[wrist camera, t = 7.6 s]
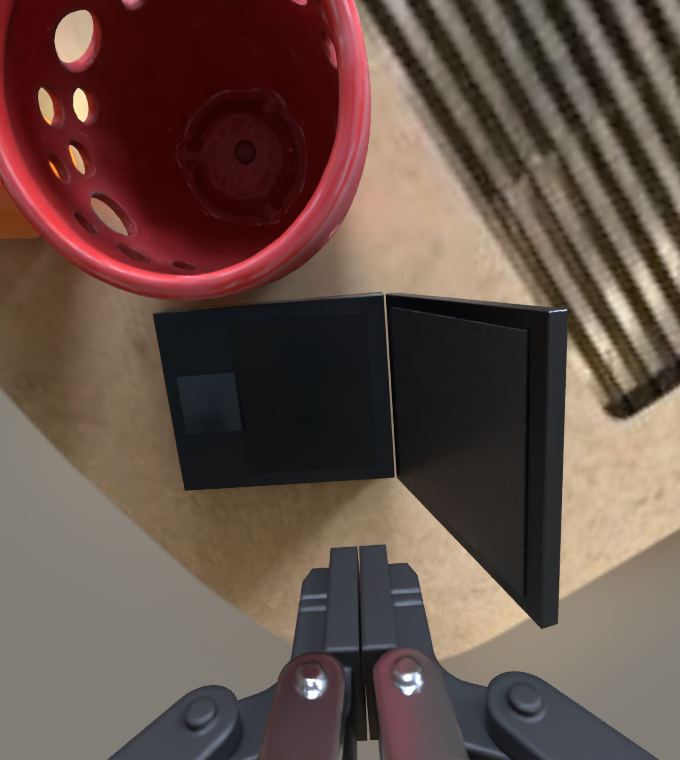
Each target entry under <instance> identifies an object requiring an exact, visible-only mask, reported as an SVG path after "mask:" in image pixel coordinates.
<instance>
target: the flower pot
mask: <svg viewBox="0 0 680 760" xmlns="http://www.w3.org/2000/svg"><path fill="white" fill-rule="evenodd" d="M79 10H87V11H88V12H89V13H90V14H91V16H92V19H93V35H92V39H91V42H90V44H89V47H88V48H87V50H86V51H85V53H84V54H83V55H82V56H81V57H80V58H79V59H78V60H76V61H74V62H71V63H65V62H63V61H61V60H60V59H59V57H58V55H57V52H56V48H55V43H54V38H55V32H56V29H57V27H58V24H59V23H60V21H61V20H62V19H63V18H64V17H65V16H67V15H68V14H70V13H71V12H75V11H79ZM41 87H42V88H44V89H45V90H46V91H47V93H48V94H49V96H50V98H51V100H52V103H53V109H54V116H53V120H52V123H51V124H49V123H47V122H46V120H45V119H44V117H43V116H42V114H41V111H40V107H39V101H38V92H39V89H40V88H41ZM77 88H80V89H81V90H82V91H83V92H84V93H85V95H86V98H87V101H88V108H89V109H88V116H87V118H86V120H85V121H84V122H82V121H80V120H79V119H78V117H77V115H76V113H75V111H74V108H73V94H74V92H75V91H76V89H77ZM370 121H371V90H370V77H369V68H368V60H367V54H366V48H365V42H364V37H363V32H362V27H361V23H360V19H359V15H358V12H357V8H356V5H355V2H354V0H0V181H1V183H2V185H3V186H4V188H5V189H6V191H7V193H8V194H9V196H10V197H11V199H12V201H13V202H14V204H15V205H16V207H17V208H18V209H19V210H20V212H21V213H22V215H23V216H24V218H25V219H26V220H27V222H28V223H29V224H30V225H31V226H32V227H33V228H34V229H35V230H36V232H37V233H38V234H39V235H40V236H41V237H42V238H43V239H44V240H45V241H46V242H47V243H48V244H49V245H50V246H51V247H52V248H54V249H55V250H56V251H57V252H58V253H59V254H60V255H61V256H63V257H64V258H65V259H66V260H68V261H69V262H70V263H71V264H73V265H74V266H76V267H78V268H79V269H81V270H82V271H84V272H85V273H87V274H88V275H90V276H92V277H94V278H96V279H98V280H100V281H102V282H105V283H107V284H109V285H111V286H114V287H116V288H118V289H121V290H124V291H127V292H131V293H134V294H137V295H141V296H146V297H151V298H156V299H162V300H174V301H194V300H204V299H213V298H220V297H226V296H231V295H235V294H239V293H243V292H247V291H250V290H253V289H256V288H259V287H261V286H264V285H266V284H269V283H271V282H274V281H276V280H279V279H281V278H283V277H284V276H286V275H288V274H290V273H291V272H293V271H295V270H296V269H298V268H299V267H300V266H302V265H303V264H305V263H306V262H307V261H308V260H309V259H311V258H312V257H313V256H314V255H315V254H316V253H317V252H318V251H319V250H320V249H321V248H322V247H323V246H324V245H325V244H326V243H327V242H328V240H329V239H330V238H331V237H332V236H333V234H334V233H335V232H336V230H337V229H338V227H339V226H340V224H341V223H342V221H343V219H344V217H345V216H346V214H347V212H348V210H349V208H350V206H351V204H352V201H353V199H354V197H355V194H356V192H357V188H358V185H359V182H360V179H361V176H362V172H363V169H364V165H365V160H366V155H367V150H368V143H369V135H370ZM69 145H72V146H74V147H75V148H76V149H77V150H78V152H79V154H80V155H81V157H82V160H83V163H84V167H85V175H83V174H81V173H80V172H79V171H78V170H77V168H76V167H75V165H74V163H73V161H72V157H71V154H70V150H69ZM49 161H50V162H51V163H52V164H53V166H54V167H55V169H56V170H57V172H58V175H59V178H58V176H57V175H56V174H55V173H54V171H53V169H52V167H51V166H50V162H49ZM91 197H92V198H96V199H98V200H100V201H102V202H104V203H105V204H106V205H108V206H109V207H110V208H111V209H112V210H113V211H114V212H115V214H116V215H117V216H118V217H119V218H120V219H121V221H122V222H123V224H124V226H125V228H126V230H127V232H128V236H125V235H122V234H119V233H117V232H115V231H114V230H112V229H111V228H109V227H108V226H107V225H106V224H104V223H103V222H102V221H101V220H100V219H99V217H98V216H97V214H96V213H95V212H94V210H93V207H92V206H91V203H90V202H91Z"/></svg>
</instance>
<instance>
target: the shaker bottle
mask: <svg viewBox="0 0 680 760" xmlns="http://www.w3.org/2000/svg"><path fill="white" fill-rule="evenodd" d="M43 117H44V116H43ZM44 119H45V120H46V122H47V123H49V124H51V122H50V121H49V120H47V119H46V118H45V117H44ZM69 150H70V154H71V157H72V161H73V163H74V165H75V167H76V168H77V166H76V162H75V158H74V156H73V153H72V151H71V149H70V146H69ZM49 162H50V161H49ZM50 166H51V167H52V169H53V171H54V173H55V174H56V175H57V176H58V178H59V175H58V172H57V170H56V169H55V167H54V166H53V164H52V163H51V162H50ZM38 237H41V236H40V235H39V234H38V233H37V232H36V230H35V229H34V228H33V227H32V226H31V225H30V224H29V223H28V222H27V220H26V219H25V218H24V216H23V215H22V213H21V212H20V210H19V209H18V208H17V207H16V205H15V204H14V202H13V201H12V199H11V197H10V196H9V194H8V193H7V191H6V189H5V188H4V186H3V185H2V183H1V181H0V239H31V238H38Z"/></svg>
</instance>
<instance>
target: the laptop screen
mask: <svg viewBox="0 0 680 760" xmlns="http://www.w3.org/2000/svg"><path fill="white" fill-rule="evenodd" d="M386 308H387V324H388V341H389V358H390V374H391V391H392V407H393V424H394V440H395V457H396V473H397V478H398V479H399V480H400V481H401V482H402V484H403V485H404V486H405V487H406V488H407V489H408V490H409V491H410V492H411V493H412V494H413V495H414V496H415V497H416V498H417V499H418V500H419V501H420V502H421V503H422V504H423V505H424V507H425V508H426V509H427V510H428V511H429V512H430V513H431V514H432V515H433V516H434V517H435V518H436V519H437V520H438V521H439V522H440V523H441V524H442V525H443V526H444V527H445V529H446V530H447V531H448V532H449V533H450V534H451V535H452V536H453V537H454V538H455V539H456V540H457V541H458V542H459V543H460V544H461V545H462V546H463V547H464V548H465V549H466V550H467V552H468V553H469V554H470V555H471V556H472V557H473V558H474V559H475V560H476V561H477V562H478V563H479V564H480V565H481V566H482V567H483V568H484V569H485V570H486V571H487V572H488V573H489V575H490V576H491V577H492V578H493V579H494V580H495V581H496V582H497V583H498V584H499V585H500V586H501V587H502V588H503V589H504V590H505V591H506V592H507V593H508V594H509V595H510V596H511V598H512V599H513V600H514V601H515V602H516V603H517V604H518V605H519V606H520V607H521V608H522V609H523V610H524V611H525V612H526V613H527V614H528V615H529V616H530V617H531V618H532V620H533V621H535V623H536V624H537V625H538V626H539V627H540V628H541V629H543V628H546V627H550V626H553V625H556V624H558V604H559V575H560V544H561V513H562V482H563V451H564V420H565V389H566V358H567V327H568V310H567V309H561V308H551V307H541V306H530V305H520V304H509V303H499V302H488V301H478V300H467V299H457V298H446V297H436V296H426V295H415V294H405V293H389V294H386Z"/></svg>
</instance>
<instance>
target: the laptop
mask: <svg viewBox="0 0 680 760" xmlns="http://www.w3.org/2000/svg"><path fill="white" fill-rule="evenodd" d="M153 317H154V323H155V329H156V334H157V340H158V345H159V351H160V356H161V362H162V367H163V373H164V378H165V384H166V390H167V395H168V401H169V406H170V412H171V417H172V423H173V428H174V434H175V439H176V445H177V451H178V456H179V462H180V467H181V473H182V478H183V484H184V489H185V491H189V490H205V489H221V488H237V487H253V486H268V485H284V484H300V483H316V482H332V481H348V480H364V479H379V478H394V477H395V473H394V457H393V440H392V424H391V408H390V392H389V375H388V359H387V343H386V327H385V310H384V295H383V294H382V292H376V293H364V294H352V295H340V296H328V297H316V298H304V299H292V300H281V301H269V302H257V303H245V304H233V305H221V306H209V307H197V308H185V309H173V310H164V311H160V312H156V313H153Z"/></svg>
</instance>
